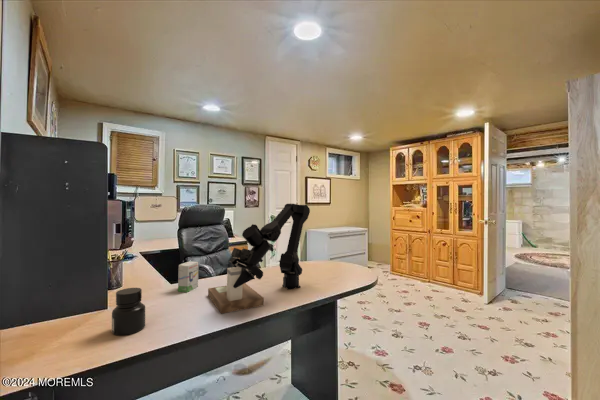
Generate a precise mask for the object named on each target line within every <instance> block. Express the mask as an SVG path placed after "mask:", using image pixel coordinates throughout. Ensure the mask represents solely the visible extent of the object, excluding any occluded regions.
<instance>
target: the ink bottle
mask: <svg viewBox="0 0 600 400" xmlns="http://www.w3.org/2000/svg"><path fill="white" fill-rule="evenodd" d="M142 293H143V292H142V288H141V287H128V288H122V289H120V290H117V291H116V292H115V304H116V306H115V308H114V309H113V310H112V312H111V333H112V335H115V336H126V335H127V336H128V335H132V334H135V333H137V332H140V331H141V330H144V328H145V327H146V305H145V304H144V303H142V297H143V296H142Z"/></svg>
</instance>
